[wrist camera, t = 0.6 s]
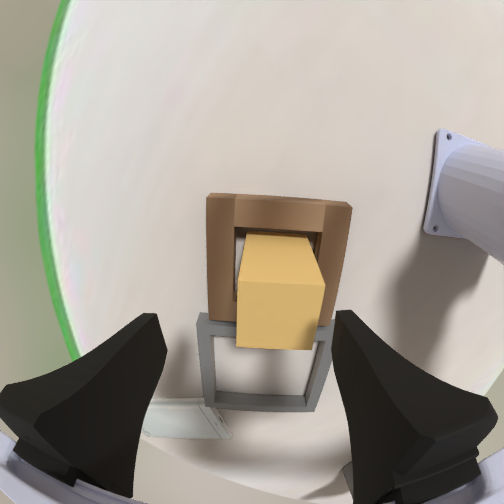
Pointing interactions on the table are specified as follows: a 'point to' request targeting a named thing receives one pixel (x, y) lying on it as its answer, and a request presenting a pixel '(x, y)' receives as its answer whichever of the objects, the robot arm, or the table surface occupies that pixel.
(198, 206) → the table surface
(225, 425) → the hard drive
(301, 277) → the peg
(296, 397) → the gray square frame
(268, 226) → the socket block
